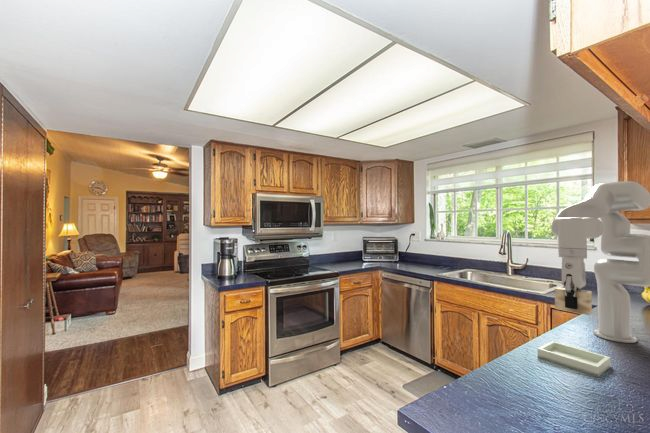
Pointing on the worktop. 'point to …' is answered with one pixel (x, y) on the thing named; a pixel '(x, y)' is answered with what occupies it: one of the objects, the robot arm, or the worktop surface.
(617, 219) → the robot arm
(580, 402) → the worktop surface
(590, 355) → the tray
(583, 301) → the block
